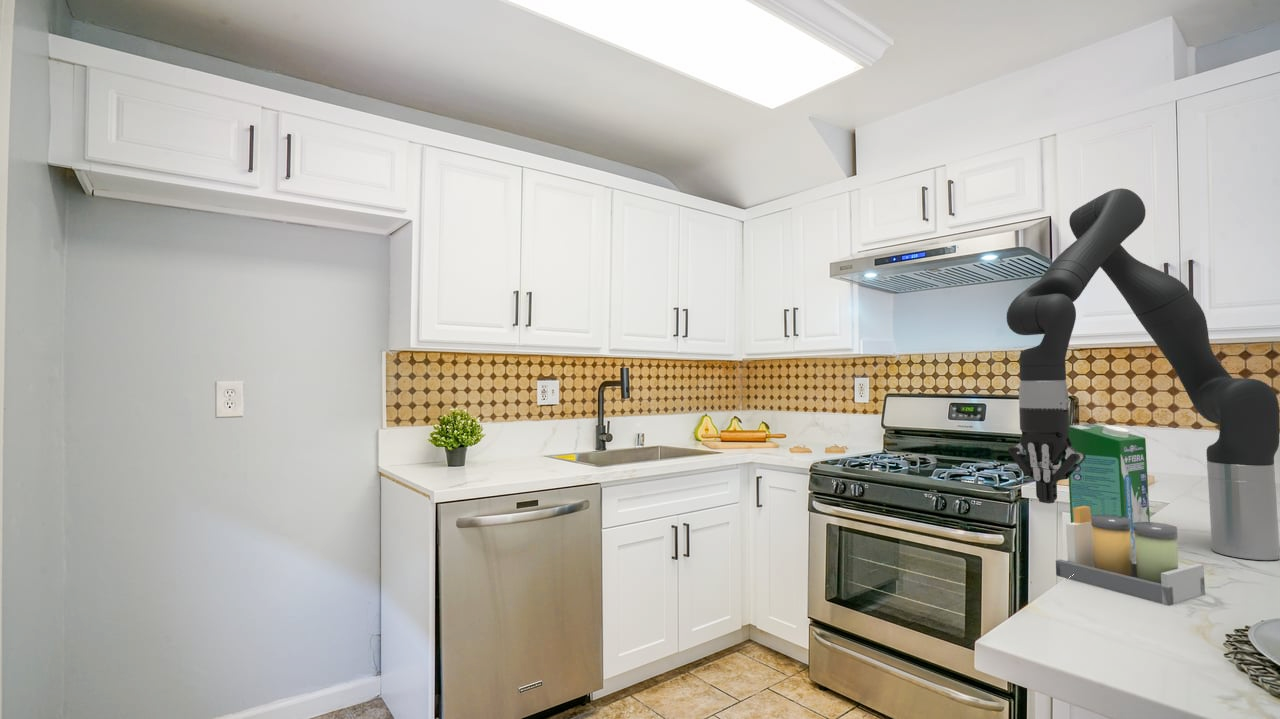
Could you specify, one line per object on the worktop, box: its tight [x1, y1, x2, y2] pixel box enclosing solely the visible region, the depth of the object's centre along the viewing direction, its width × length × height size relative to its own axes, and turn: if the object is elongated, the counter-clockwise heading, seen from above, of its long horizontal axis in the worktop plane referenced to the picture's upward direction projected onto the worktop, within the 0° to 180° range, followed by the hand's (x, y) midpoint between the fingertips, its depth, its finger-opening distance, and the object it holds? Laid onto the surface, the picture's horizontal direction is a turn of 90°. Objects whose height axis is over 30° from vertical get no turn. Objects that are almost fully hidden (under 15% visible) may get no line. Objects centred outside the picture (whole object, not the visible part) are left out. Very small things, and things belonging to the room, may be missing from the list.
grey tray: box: [1055, 559, 1206, 606], centre depth 100 cm, size 10×16×5 cm, turn 25°
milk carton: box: [1068, 423, 1151, 562], centre depth 117 cm, size 9×9×25 cm
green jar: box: [1133, 521, 1179, 584], centre depth 96 cm, size 5×5×10 cm
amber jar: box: [1091, 514, 1133, 577], centre depth 102 cm, size 5×5×10 cm
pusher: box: [1065, 506, 1094, 567], centre depth 106 cm, size 7×1×11 cm, turn 115°
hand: (1047, 502), depth 111 cm, fingers closed
